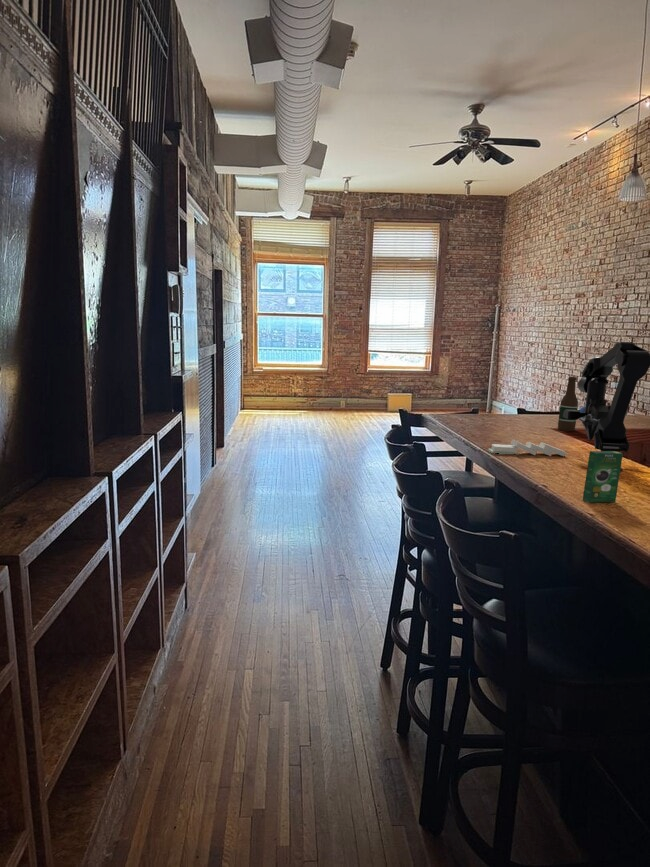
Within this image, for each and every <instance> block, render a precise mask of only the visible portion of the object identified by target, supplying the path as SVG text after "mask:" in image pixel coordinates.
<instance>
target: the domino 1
mask: <svg viewBox="0 0 650 867" xmlns="http://www.w3.org/2000/svg"><path fill="white" fill-rule="evenodd" d="M487 451H488V452H489V453H490V452H491V453H499V454H498V455H505V454H515V453H516V452H502V451H494V450H493V449H491V448H488V450H487ZM491 453H490V454H491ZM515 455H516V454H515Z"/></svg>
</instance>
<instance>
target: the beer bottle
mask: <svg viewBox="0 0 650 867" xmlns="http://www.w3.org/2000/svg"><path fill="white" fill-rule="evenodd" d="M567 380H568V382H567V386H566V392H565V394H564V395H563V397H562V399H561V401H560V406H559V414H558V422H557V430H559V431H565V432H574V431H575V430H576V425H577V423H576V422H577V420H574V419H567V418H564V417H563V412H564V410H565V409H569V410H577V411H578V409H579V408H578V407H579V401H578V397H577V395H576V386H577V384H576V383H577V377H576V376H568V379H567Z"/></svg>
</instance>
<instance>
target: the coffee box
mask: <svg viewBox="0 0 650 867" xmlns="http://www.w3.org/2000/svg"><path fill="white" fill-rule="evenodd" d="M588 453H589V454H588V460H587V466H586V467H587V468H586V473H585V474H586V475H585V482H584V487H583V488H584V489H583V495H582V501H583V502H585V503H588V504H589V503H591V504H592V503H594V504H595V503H597V504H598V503H616V500H617V494H618V486H619V480H620V474H621V471H620V469H621V468H622V463H623V462H622V461H623V456H624V454H623V452H616V451H601V450H589V452H588Z"/></svg>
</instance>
